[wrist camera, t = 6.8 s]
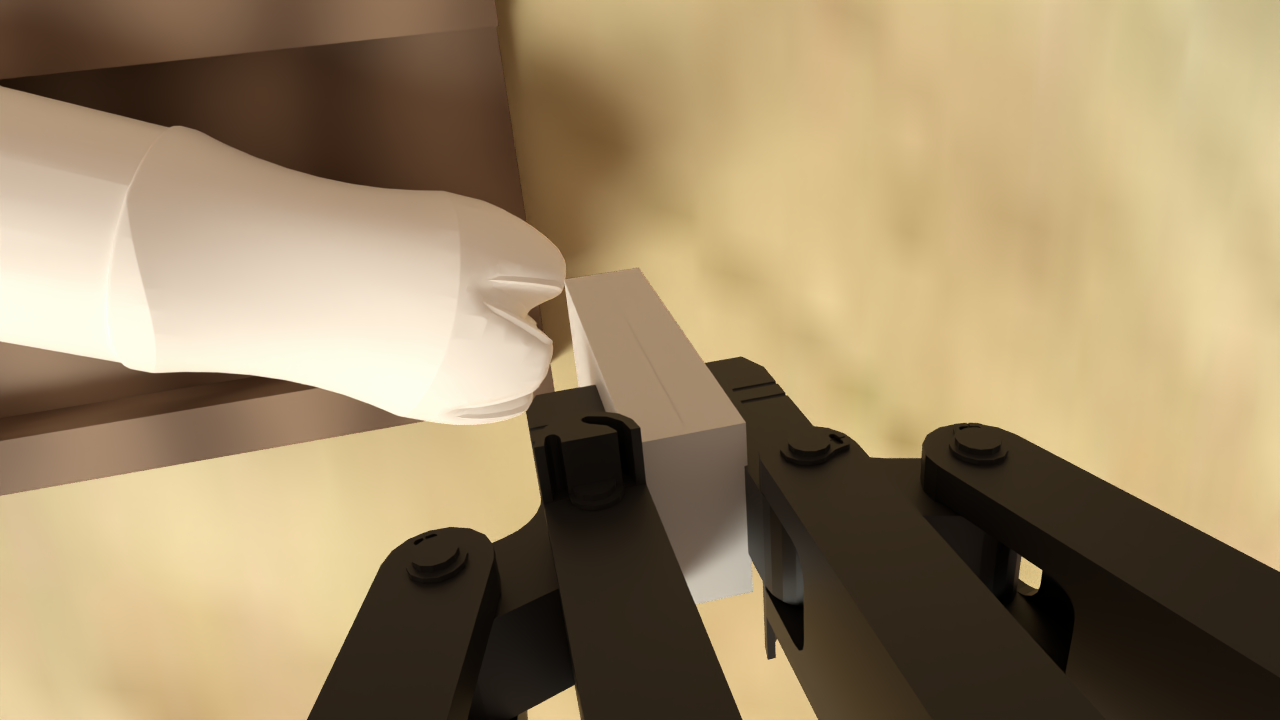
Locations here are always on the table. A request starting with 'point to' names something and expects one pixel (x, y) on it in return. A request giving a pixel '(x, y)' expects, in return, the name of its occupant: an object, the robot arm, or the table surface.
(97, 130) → the water bottle
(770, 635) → the robot arm
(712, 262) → the table surface
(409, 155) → the walnut cradle
